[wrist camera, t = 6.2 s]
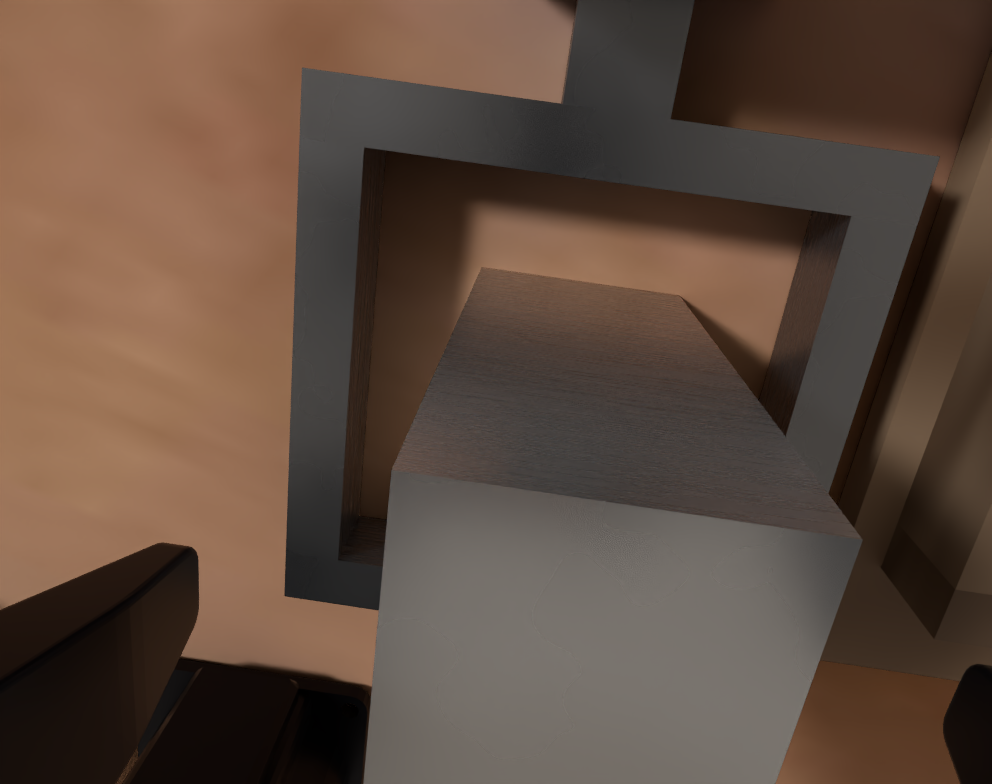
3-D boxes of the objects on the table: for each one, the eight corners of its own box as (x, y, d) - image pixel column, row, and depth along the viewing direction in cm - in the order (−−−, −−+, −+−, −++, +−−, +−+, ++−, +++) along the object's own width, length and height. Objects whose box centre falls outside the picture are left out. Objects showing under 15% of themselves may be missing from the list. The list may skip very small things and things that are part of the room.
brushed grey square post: (639, 472, 18) (743, 871, 8) (458, 446, 18) (360, 812, 8) (679, 295, 16) (863, 539, 7) (481, 267, 16) (391, 470, 7)
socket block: (748, 614, 19) (814, 778, 14) (310, 549, 19) (233, 689, 14) (1050, -368, 12) (1374, -683, 7) (357, -457, 12) (237, -820, 7)
